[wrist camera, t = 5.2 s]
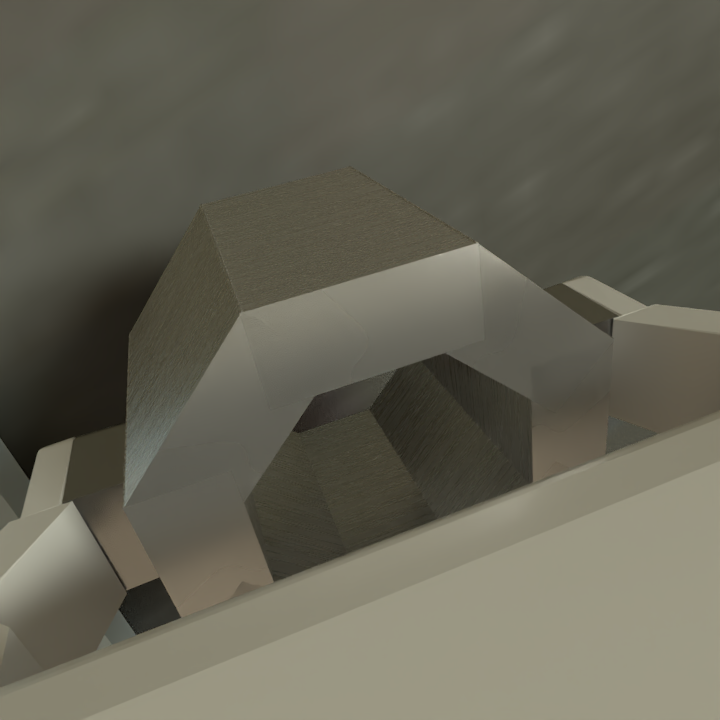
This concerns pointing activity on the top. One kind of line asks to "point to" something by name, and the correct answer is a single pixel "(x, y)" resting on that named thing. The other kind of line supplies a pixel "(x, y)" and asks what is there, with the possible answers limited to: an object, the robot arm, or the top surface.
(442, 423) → the ring
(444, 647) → the robot arm
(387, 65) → the top surface
